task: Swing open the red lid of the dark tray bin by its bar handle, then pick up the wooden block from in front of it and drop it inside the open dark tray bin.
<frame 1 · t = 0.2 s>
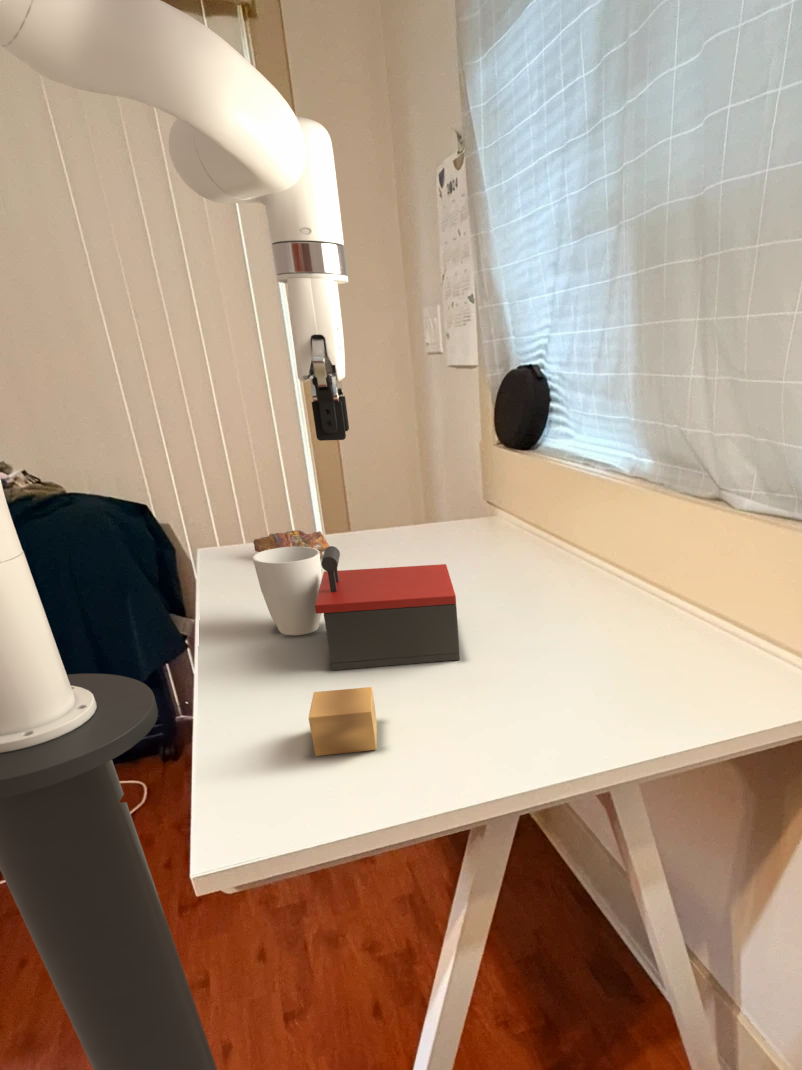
hand: (334, 435, 85), 24 cm above the table, tool pointing down, fingers open, 9 cm apart
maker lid: (384, 569, 85), point 10 cm above the table, hinge at 0.0°
wooden block: (347, 739, 67), on the table
cup: (299, 630, 94), on the table
mineral specimen: (294, 561, 125), on the table
dark tray bin: (396, 644, 89), on the table
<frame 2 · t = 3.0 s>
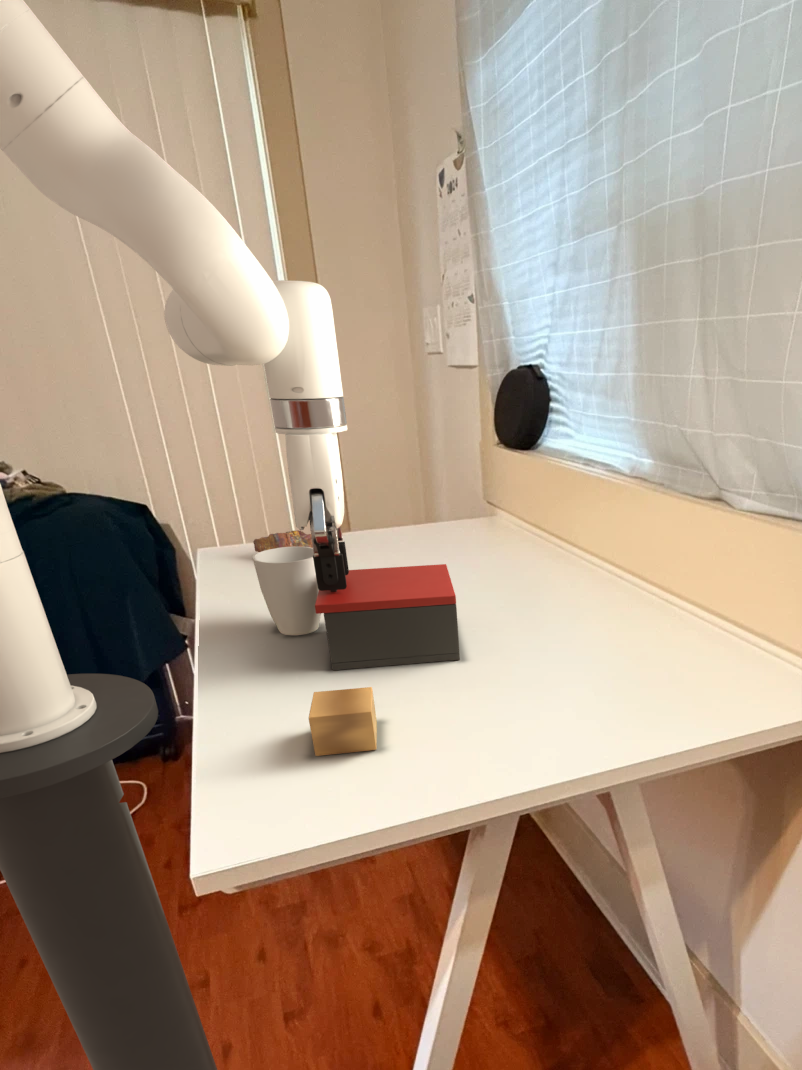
hand: (334, 580, 84), 9 cm above the table, tool pointing down, fingers closed on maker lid, 5 cm apart
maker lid: (384, 569, 85), point 10 cm above the table, hinge at 0.0°, touching gripper
everything else where it was.
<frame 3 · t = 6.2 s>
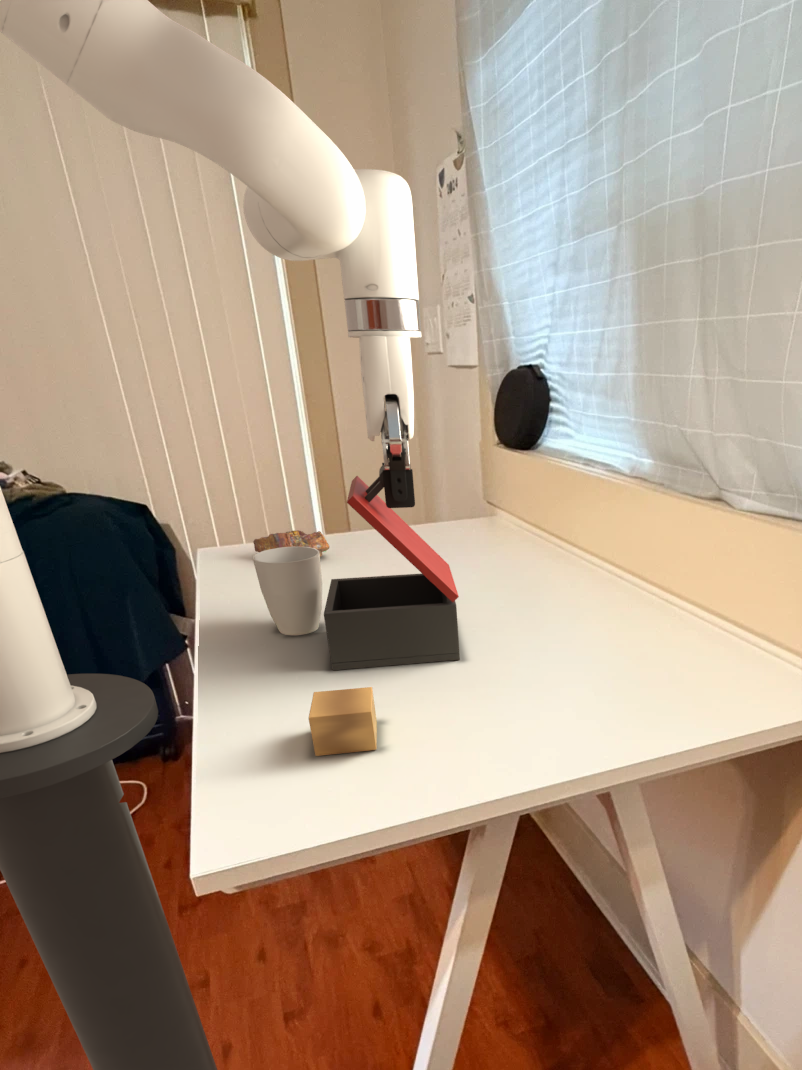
hand: (399, 500, 81), 17 cm above the table, tool pointing down, fingers closed on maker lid, 5 cm apart
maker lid: (416, 524, 83), point 15 cm above the table, hinge at 48.5°, touching gripper
everything else where it was.
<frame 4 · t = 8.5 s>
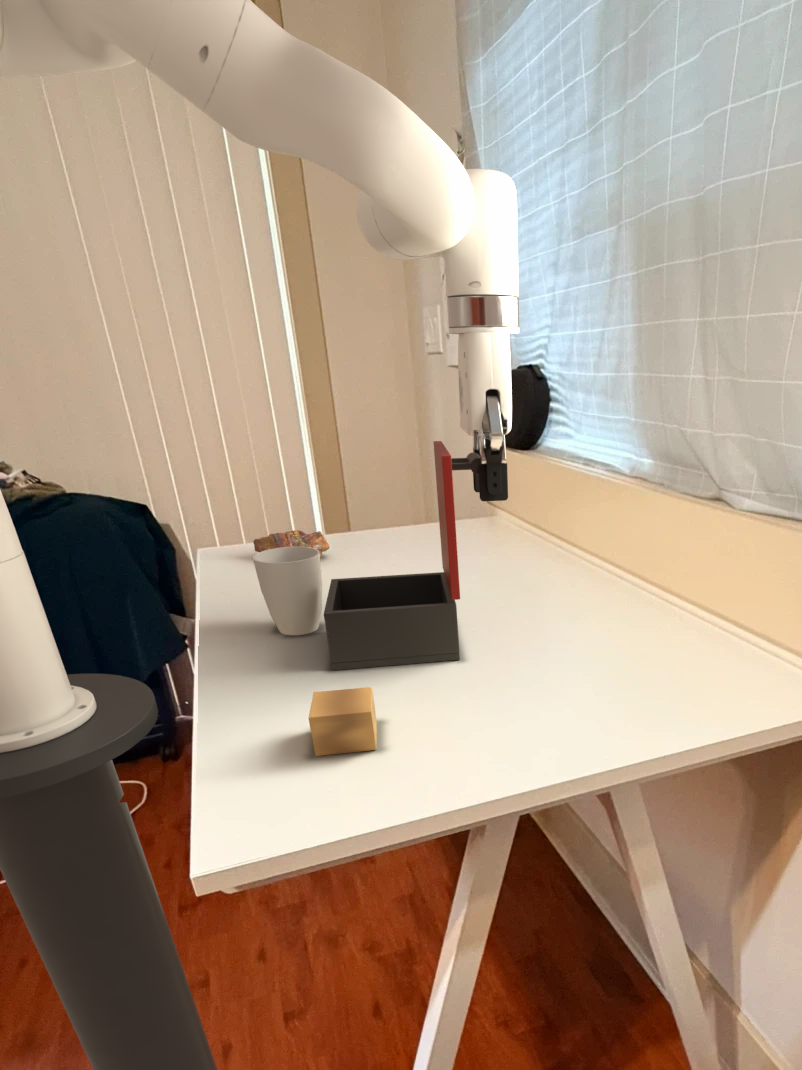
hand: (490, 494, 83), 18 cm above the table, tool pointing down, fingers closed on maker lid, 5 cm apart
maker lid: (464, 517, 84), point 15 cm above the table, hinge at 90.0°, touching gripper
everything else where it was.
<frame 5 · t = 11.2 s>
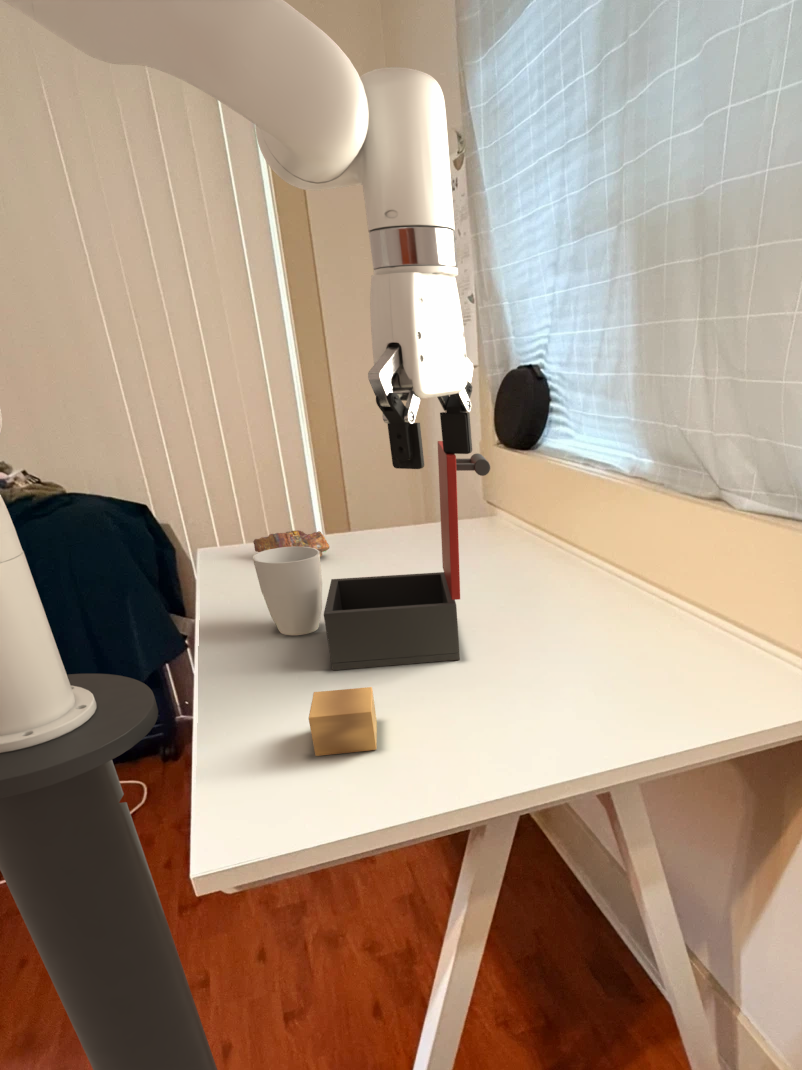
hand: (434, 460, 71), 23 cm above the table, tool pointing down, fingers open, 9 cm apart
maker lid: (466, 517, 84), point 15 cm above the table, hinge at 91.9°, touching gripper
everything else where it was.
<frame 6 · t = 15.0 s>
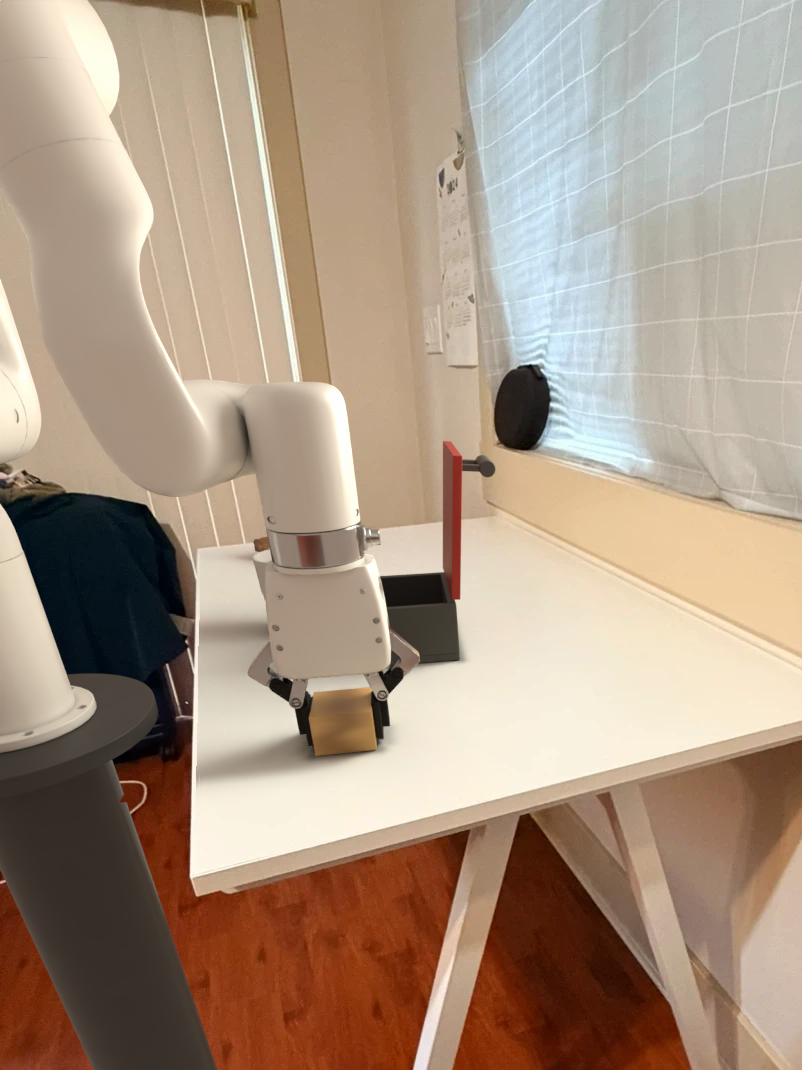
hand: (346, 734, 67), 1 cm above the table, tool pointing down, fingers closed on wooden block, 5 cm apart
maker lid: (469, 518, 84), point 15 cm above the table, hinge at 94.3°
wooden block: (347, 739, 67), on the table, touching gripper
everything else where it was.
when the fingers open (7 cm above the table, at t = 21.9 s): wooden block drops 6 cm, resting on dark tray bin.
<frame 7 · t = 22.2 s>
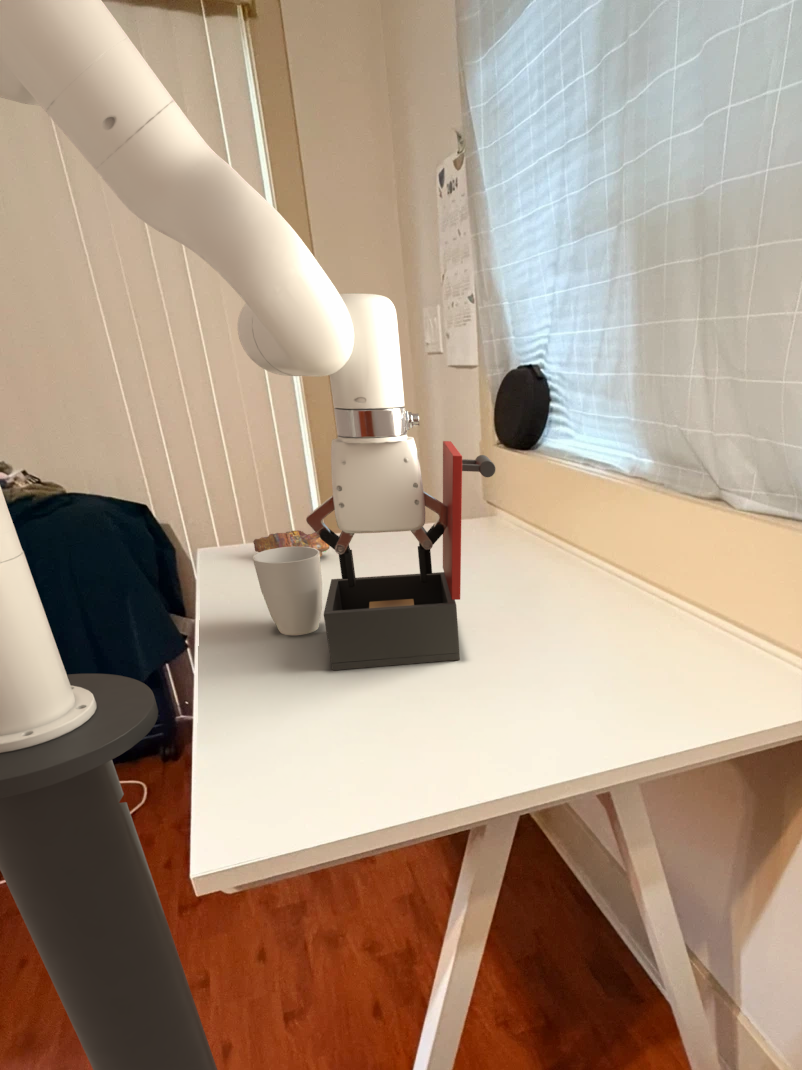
hand: (388, 581, 85), 8 cm above the table, tool pointing down, fingers open, 8 cm apart
wooden block: (395, 637, 89), point 1 cm above the table, touching dark tray bin
everything else where it was.
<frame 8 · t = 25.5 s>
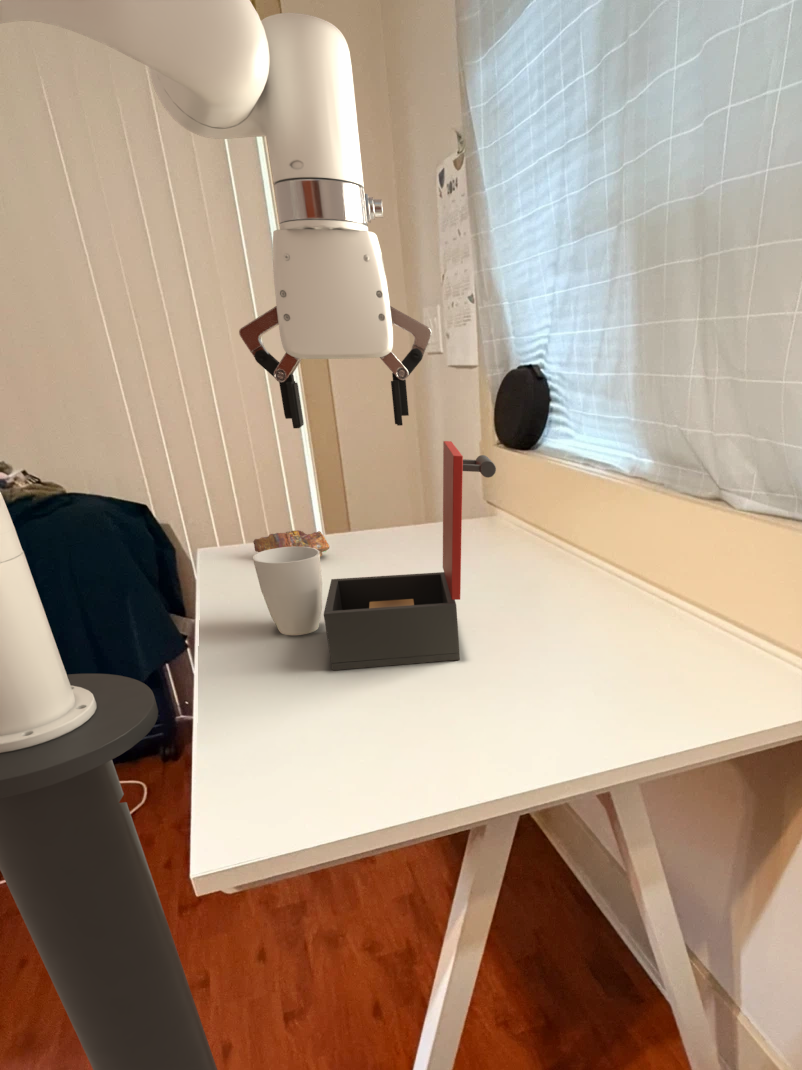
hand: (349, 425, 70), 26 cm above the table, tool pointing down, fingers open, 9 cm apart
nothing on the table moved.
at the end: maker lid at +94° (first picture: +0°); wooden block inside the target area in the dark tray bin (0.0 cm from its centre), point 0.9 cm above the dark tray bin's base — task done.
